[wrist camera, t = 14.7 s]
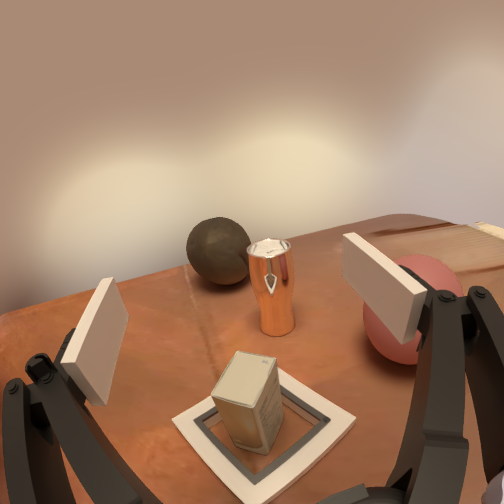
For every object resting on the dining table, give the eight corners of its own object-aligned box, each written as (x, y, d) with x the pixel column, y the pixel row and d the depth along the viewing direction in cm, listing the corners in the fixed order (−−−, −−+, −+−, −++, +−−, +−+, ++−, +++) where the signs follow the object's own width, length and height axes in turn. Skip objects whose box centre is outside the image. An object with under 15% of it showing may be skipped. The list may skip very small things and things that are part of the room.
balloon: (418, 426, 24) (465, 339, 18) (339, 340, 42) (343, 254, 35) (482, 367, 28) (519, 281, 21) (405, 307, 45) (417, 229, 39)
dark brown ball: (248, 261, 72) (239, 205, 65) (263, 289, 59) (254, 222, 53) (194, 274, 69) (180, 218, 63) (198, 305, 57) (180, 238, 50)
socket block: (176, 426, 30) (169, 417, 29) (266, 367, 39) (265, 356, 38) (254, 512, 19) (251, 509, 18) (354, 425, 27) (357, 415, 26)
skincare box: (253, 409, 32) (237, 347, 27) (285, 417, 31) (278, 354, 25) (233, 448, 27) (207, 394, 22) (267, 458, 25) (253, 407, 20)
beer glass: (252, 336, 46) (238, 257, 40) (264, 311, 52) (253, 237, 46) (293, 340, 44) (286, 258, 37) (300, 314, 50) (295, 237, 43)
